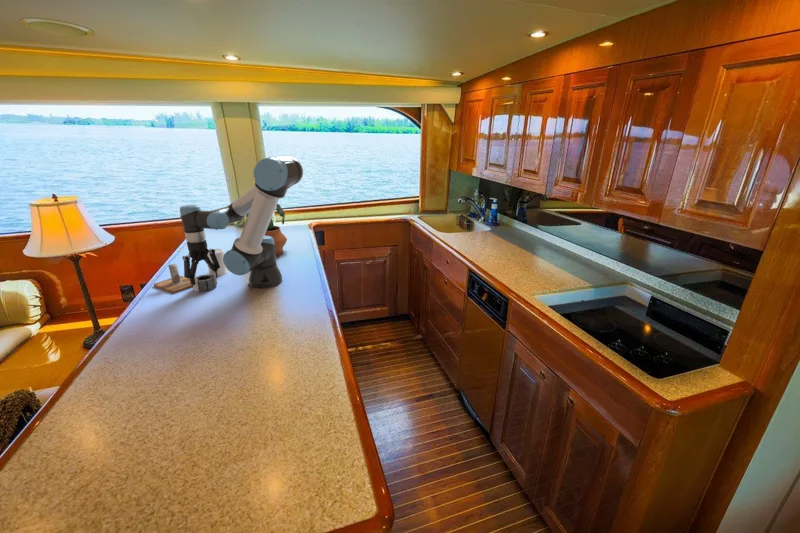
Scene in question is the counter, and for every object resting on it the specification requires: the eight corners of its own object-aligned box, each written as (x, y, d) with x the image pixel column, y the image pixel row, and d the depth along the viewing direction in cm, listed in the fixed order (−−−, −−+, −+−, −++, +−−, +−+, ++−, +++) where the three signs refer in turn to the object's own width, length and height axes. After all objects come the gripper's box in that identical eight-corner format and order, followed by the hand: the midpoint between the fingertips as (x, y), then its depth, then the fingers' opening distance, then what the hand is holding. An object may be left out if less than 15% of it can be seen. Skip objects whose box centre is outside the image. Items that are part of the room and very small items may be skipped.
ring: (220, 286, 157) (218, 276, 156) (203, 293, 150) (201, 282, 149) (208, 282, 161) (206, 273, 159) (191, 289, 154) (189, 279, 152)
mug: (218, 279, 166) (213, 256, 161) (201, 278, 166) (196, 255, 162) (230, 270, 177) (227, 248, 172) (215, 269, 177) (211, 248, 173)
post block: (200, 284, 159) (196, 264, 156) (174, 293, 149) (169, 272, 146) (180, 277, 166) (175, 258, 162) (154, 286, 156) (148, 265, 152)
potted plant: (291, 255, 200) (286, 206, 190) (240, 262, 188) (231, 209, 178) (285, 245, 219) (280, 199, 209) (238, 250, 207) (230, 202, 197)
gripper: (212, 233, 158) (221, 278, 166) (166, 245, 140) (178, 293, 148) (223, 236, 155) (231, 281, 163) (177, 247, 137) (188, 297, 145)
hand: (206, 287), depth 156 cm, fingers closed on ring, 8 cm apart
